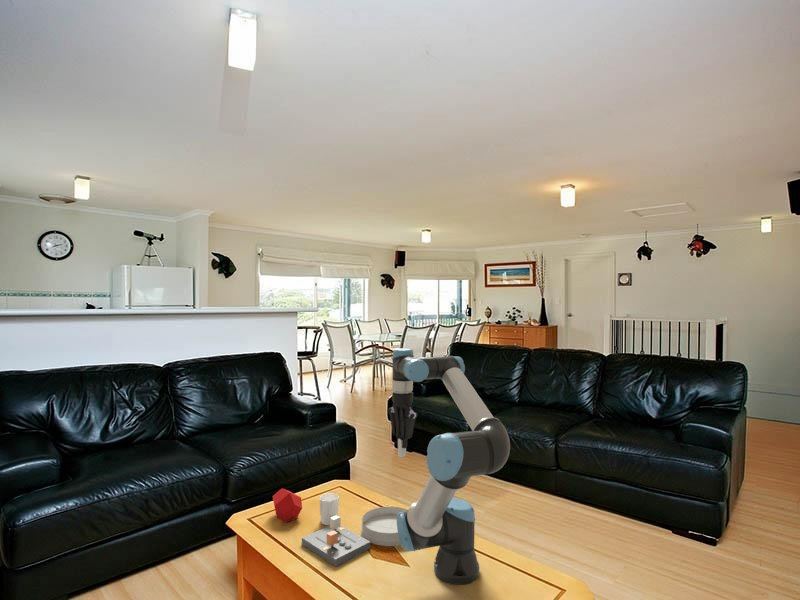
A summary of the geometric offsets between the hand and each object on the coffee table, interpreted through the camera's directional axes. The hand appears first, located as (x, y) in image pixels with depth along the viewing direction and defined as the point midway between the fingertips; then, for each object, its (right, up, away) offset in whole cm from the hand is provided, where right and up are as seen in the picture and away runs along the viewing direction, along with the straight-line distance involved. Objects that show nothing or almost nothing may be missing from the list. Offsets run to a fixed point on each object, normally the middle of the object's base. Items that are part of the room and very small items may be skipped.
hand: (401, 456), depth 168 cm
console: (-24, -34, +3) cm, 42 cm away
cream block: (-26, -31, +9) cm, 42 cm away
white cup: (-30, -34, +22) cm, 50 cm away
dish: (-5, -35, +14) cm, 38 cm away
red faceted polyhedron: (-48, -34, +25) cm, 64 cm away
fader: (-25, -32, -2) cm, 40 cm away
